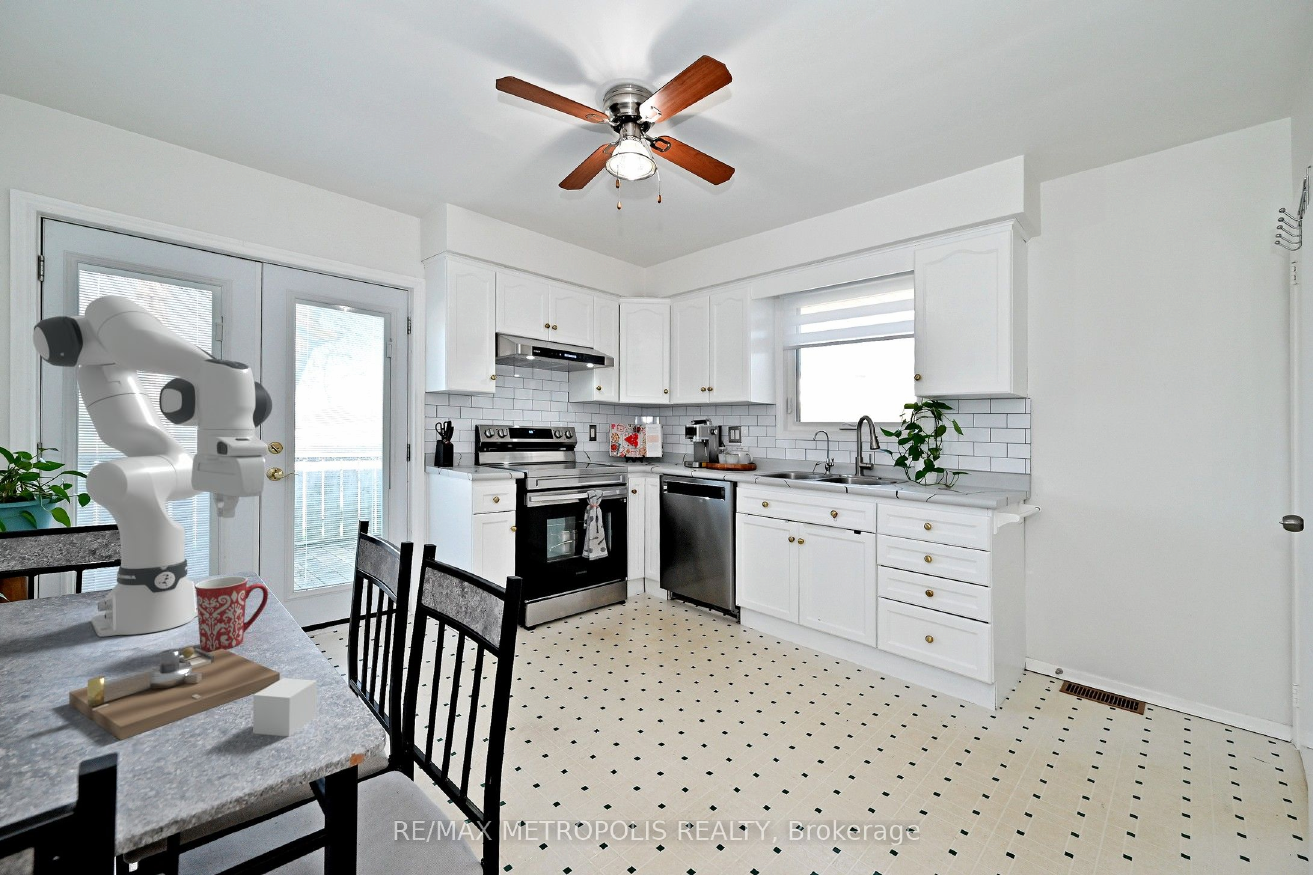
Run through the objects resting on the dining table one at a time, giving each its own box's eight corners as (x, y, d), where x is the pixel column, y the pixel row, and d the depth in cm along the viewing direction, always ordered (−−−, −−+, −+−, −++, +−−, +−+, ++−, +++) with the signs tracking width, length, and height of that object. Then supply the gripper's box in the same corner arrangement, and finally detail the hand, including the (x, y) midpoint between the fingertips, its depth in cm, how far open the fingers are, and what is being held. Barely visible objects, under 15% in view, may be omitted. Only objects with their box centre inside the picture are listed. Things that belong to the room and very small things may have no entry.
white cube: (282, 714, 93) (283, 677, 93) (316, 717, 92) (317, 680, 92) (252, 733, 87) (253, 694, 87) (289, 736, 86) (289, 697, 86)
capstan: (178, 668, 103) (178, 640, 103) (203, 680, 99) (203, 651, 99) (76, 697, 92) (76, 667, 92) (99, 713, 87) (99, 680, 87)
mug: (195, 657, 114) (195, 590, 114) (192, 643, 121) (193, 580, 121) (270, 642, 123) (271, 579, 122) (264, 630, 129) (265, 571, 129)
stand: (64, 703, 95) (64, 676, 95) (220, 657, 114) (220, 635, 114) (118, 741, 84) (118, 711, 84) (279, 683, 103) (279, 659, 103)
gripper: (181, 443, 111) (180, 514, 111) (234, 446, 101) (233, 524, 101) (218, 442, 116) (218, 510, 117) (273, 446, 106) (272, 520, 107)
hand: (226, 517), depth 109 cm, fingers closed
